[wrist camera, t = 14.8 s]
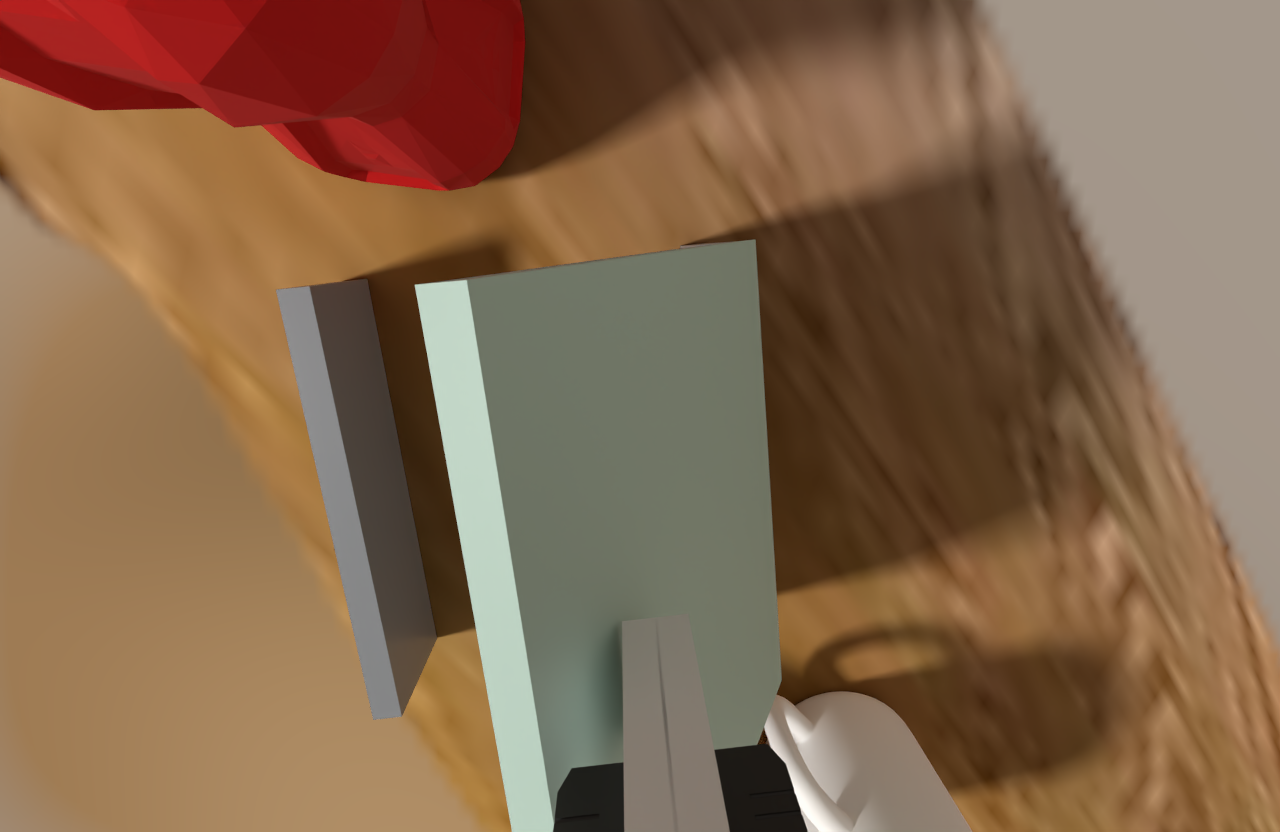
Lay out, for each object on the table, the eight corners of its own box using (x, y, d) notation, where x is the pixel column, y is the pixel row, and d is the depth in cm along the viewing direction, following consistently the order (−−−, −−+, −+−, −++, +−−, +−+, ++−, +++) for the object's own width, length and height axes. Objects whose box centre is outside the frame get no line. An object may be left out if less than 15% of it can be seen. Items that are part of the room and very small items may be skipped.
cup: (817, 841, 39) (885, 1042, 29) (685, 700, 36) (712, 867, 27) (938, 759, 38) (1052, 939, 28) (812, 608, 35) (889, 747, 26)
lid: (415, 284, 11) (466, 280, 10) (728, 242, 25) (755, 239, 25) (564, 1123, 15) (604, 1143, 15) (758, 676, 29) (781, 680, 29)
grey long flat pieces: (340, 281, 31) (275, 289, 25) (706, 243, 31) (728, 242, 25) (413, 641, 35) (373, 719, 29) (734, 605, 35) (758, 676, 29)
